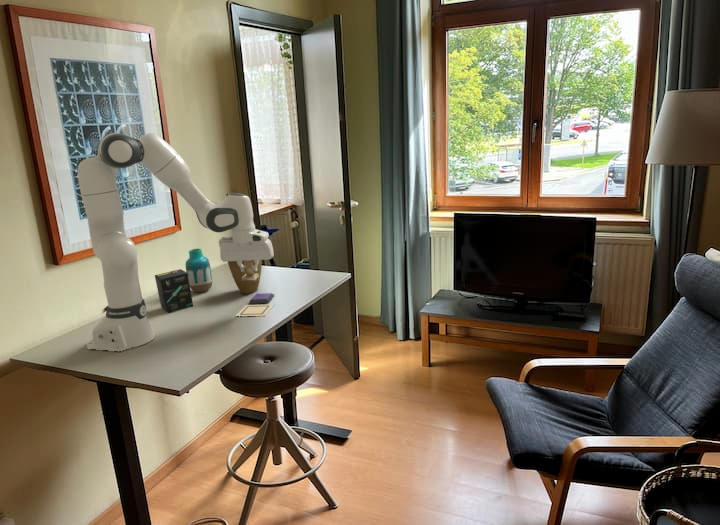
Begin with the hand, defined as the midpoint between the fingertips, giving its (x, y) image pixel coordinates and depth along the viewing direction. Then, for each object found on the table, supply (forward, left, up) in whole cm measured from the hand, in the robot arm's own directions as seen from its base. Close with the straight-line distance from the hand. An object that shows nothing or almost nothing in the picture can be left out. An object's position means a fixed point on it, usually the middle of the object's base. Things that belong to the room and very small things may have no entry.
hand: (249, 271), depth 200 cm
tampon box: (-36, +7, -17) cm, 40 cm away
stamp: (0, 0, -4) cm, 4 cm away
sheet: (0, 0, -16) cm, 16 cm away
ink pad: (-1, +12, -16) cm, 20 cm away
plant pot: (-11, +25, -17) cm, 32 cm away
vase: (-34, +27, -17) cm, 46 cm away
